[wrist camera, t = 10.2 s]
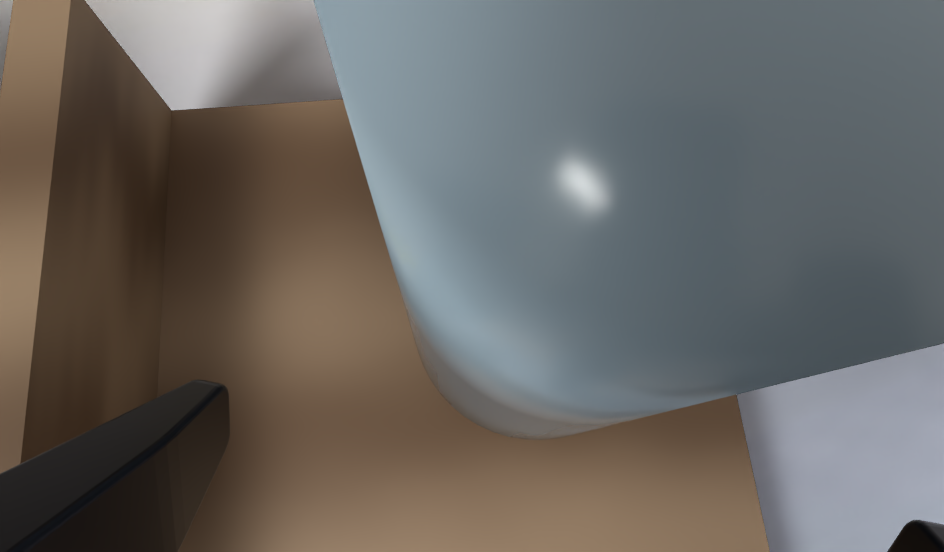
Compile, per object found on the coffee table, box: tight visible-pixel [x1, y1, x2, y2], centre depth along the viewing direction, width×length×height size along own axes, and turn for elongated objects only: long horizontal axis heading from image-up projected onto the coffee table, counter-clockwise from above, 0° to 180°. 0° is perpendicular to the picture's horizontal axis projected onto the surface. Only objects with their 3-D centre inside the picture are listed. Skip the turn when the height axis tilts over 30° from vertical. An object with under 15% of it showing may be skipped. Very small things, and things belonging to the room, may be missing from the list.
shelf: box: [0, 0, 770, 552], centre depth 15 cm, size 20×16×8 cm
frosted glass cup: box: [314, 0, 944, 440], centre depth 11 cm, size 6×6×13 cm
